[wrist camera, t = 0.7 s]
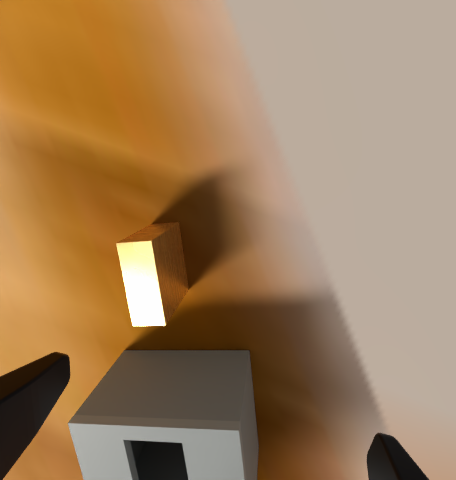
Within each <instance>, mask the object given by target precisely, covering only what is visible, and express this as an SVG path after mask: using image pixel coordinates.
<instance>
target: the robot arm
mask: <svg viewBox="0 0 456 480" xmlns="http://www.w3.org/2000/svg"><path fill="white" fill-rule="evenodd" d="M69 379H70V361H69V356H68V355H67V354H63V353H59V352H54V353H51V354H49V355H47V356H44V357H42V358H40V359H38V360H36V361H33V362H31V363H29V364H27V365H25V366H22V367H20V368H18V369H16V370H14V371H11V372H9V373H7V374H5V375H3V376H0V480H3V478H4V477H5V476H6V474H7V473H8V472H9V470H10V469H11V468H12V466H13V465H14V464H15V462H16V461H17V460H18V458H19V457H20V456H21V454H22V453H23V452H24V450H25V449H26V448H27V446H28V445H29V444H30V442H31V441H32V439H33V438H34V437H35V435H36V434H37V432H38V431H39V429H40V428H41V426H42V425H43V423H44V421H45V420H46V418H47V416H48V415H49V413H50V412H51V410H52V408H53V407H54V405H55V404H56V402H57V400H58V399H59V397H60V395H61V394H62V392H63V391H64V389H65V387H66V386H67V384H68V382H69ZM367 468H368V476H369V480H429V479H428V478H427V477H426V475H425V474H424V473H423V472H422V470H421V469H420V468H419V467H418V466H417V464H416V463H415V462H414V461H413V459H412V458H411V457H410V456H409V454H408V453H407V452H406V451H405V449H404V448H403V447H402V446H401V445H400V443H399V442H398V441H397V440H396V439H395V438H394V437H393V436H390V435H386V434H382V433H377V434H376V435H375V437H374V439H373V442H372V444H371V446H370V449H369V451H368V454H367Z"/></svg>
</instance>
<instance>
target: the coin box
mask: <svg viewBox="0 0 456 480" xmlns="http://www.w3.org/2000/svg"><path fill="white" fill-rule="evenodd" d="M68 426H69V429H70V433H71V436H72V440H73V443H74V447H75V450H76V454H77V457H78V461H79V465H80V468H81V472H82V475H83V479H84V480H257V469H258V451H259V444H258V434H257V423H256V413H255V402H254V392H253V382H252V371H251V361H250V350H124V351H123V353H122V354H121V355H120V357H119V358H118V359H117V360H116V362H115V363H114V364H113V366H112V367H111V368H110V369H109V371H108V372H107V373H106V375H105V376H104V377H103V378H102V380H101V381H100V382H99V384H98V385H97V386H96V388H95V389H94V390H93V391H92V393H91V394H90V395H89V397H88V398H87V399H86V400H85V402H84V403H83V404H82V406H81V407H80V408H79V409H78V411H77V412H76V413H75V415H74V416H73V417H72V418H71V420H70V421H69V422H68Z"/></svg>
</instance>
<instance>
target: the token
mask: <svg viewBox="0 0 456 480" xmlns="http://www.w3.org/2000/svg"><path fill="white" fill-rule="evenodd" d="M116 244H117V249H118V254H119V259H120V264H121V269H122V274H123V279H124V284H125V289H126V294H127V299H128V304H129V309H130V314H131V320H132V325H133V326H163V325H166V324H167V322H168V321H169V319H170V318H171V316H172V315H173V313H174V312H175V310H176V308H177V307H178V305H179V304H180V302H181V301H182V299H183V298H184V296H185V295H186V293H187V292H188V290H189V287H188V280H187V273H186V266H185V259H184V252H183V245H182V238H181V231H180V224H179V222H172V223H158V224H151V225H149V226H147V227H145V228H143V229H141V230H140V231H138V232H136V233H134V234H132V235H130V236H129V237H127V238H125V239H123V240H121V241H120V242H118V243H116Z"/></svg>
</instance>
